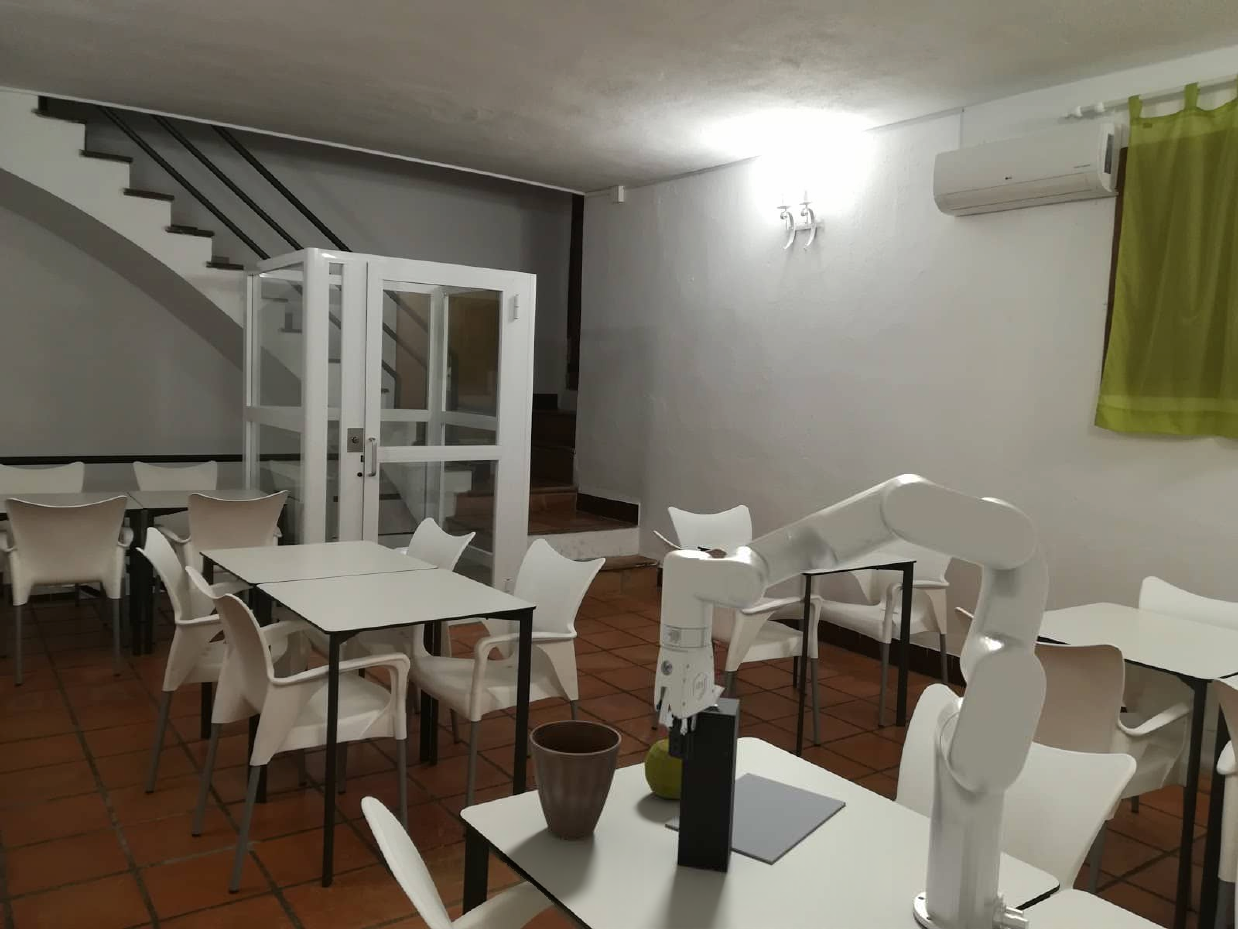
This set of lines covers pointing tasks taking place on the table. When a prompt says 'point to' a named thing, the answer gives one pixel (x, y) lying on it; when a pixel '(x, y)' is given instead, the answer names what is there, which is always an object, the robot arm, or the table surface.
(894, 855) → the table surface
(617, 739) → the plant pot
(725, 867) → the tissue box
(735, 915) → the table surface
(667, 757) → the apple
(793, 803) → the mat
